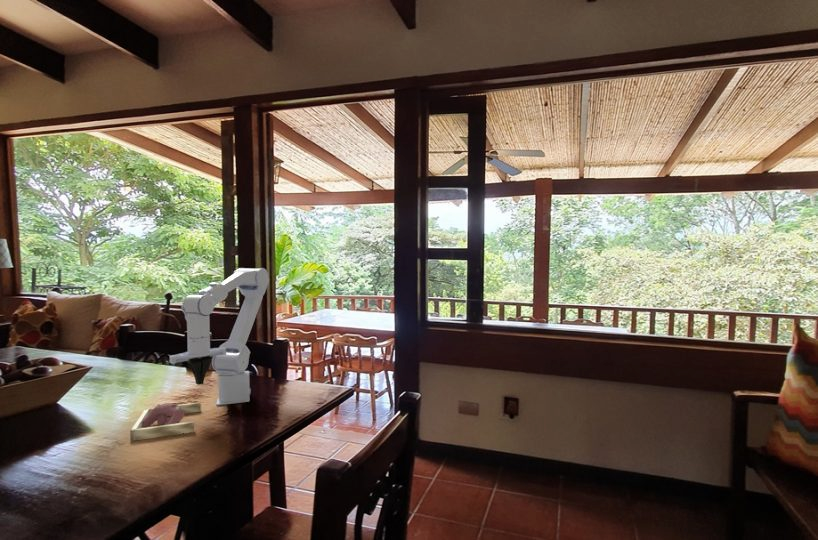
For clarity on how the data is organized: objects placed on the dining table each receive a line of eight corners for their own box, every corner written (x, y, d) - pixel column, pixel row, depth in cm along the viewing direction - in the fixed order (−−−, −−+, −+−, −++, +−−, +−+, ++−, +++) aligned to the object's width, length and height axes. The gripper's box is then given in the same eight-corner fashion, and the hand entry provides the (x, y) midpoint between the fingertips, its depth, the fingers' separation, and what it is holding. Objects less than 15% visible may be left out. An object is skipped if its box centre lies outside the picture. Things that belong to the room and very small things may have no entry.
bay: (200, 410, 120) (200, 402, 120) (193, 432, 105) (193, 422, 105) (145, 417, 115) (145, 408, 115) (130, 441, 100) (130, 431, 100)
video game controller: (180, 433, 108) (190, 406, 111) (167, 432, 104) (177, 404, 107) (153, 428, 111) (163, 402, 114) (139, 427, 107) (149, 400, 110)
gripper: (219, 331, 123) (220, 375, 124) (166, 338, 113) (167, 386, 114) (228, 334, 118) (229, 380, 119) (173, 342, 108) (174, 392, 109)
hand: (199, 383), depth 116 cm, fingers closed
